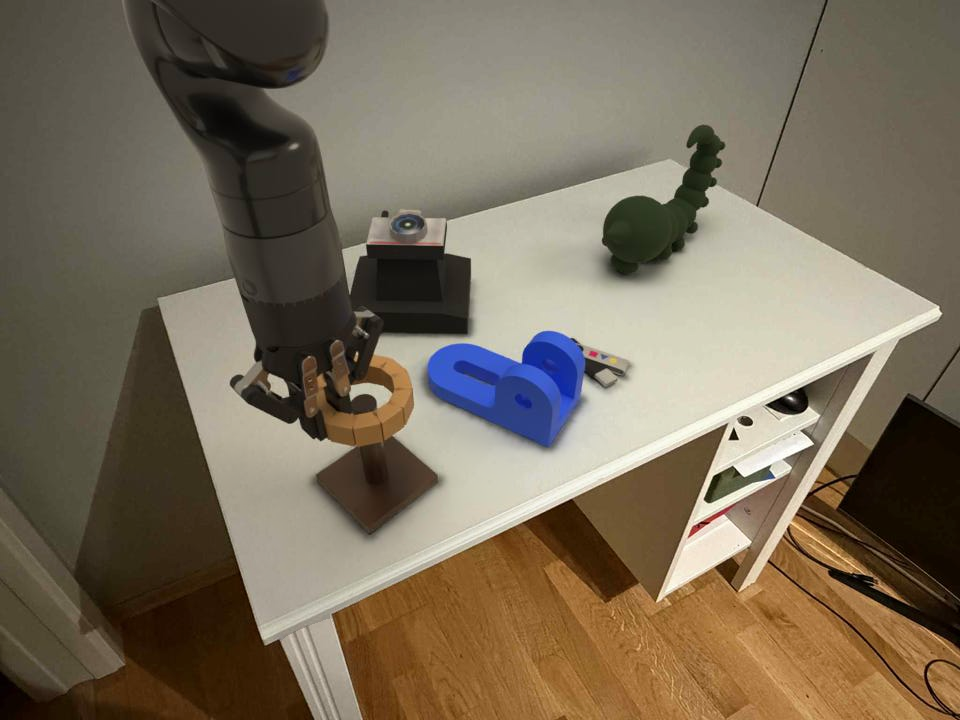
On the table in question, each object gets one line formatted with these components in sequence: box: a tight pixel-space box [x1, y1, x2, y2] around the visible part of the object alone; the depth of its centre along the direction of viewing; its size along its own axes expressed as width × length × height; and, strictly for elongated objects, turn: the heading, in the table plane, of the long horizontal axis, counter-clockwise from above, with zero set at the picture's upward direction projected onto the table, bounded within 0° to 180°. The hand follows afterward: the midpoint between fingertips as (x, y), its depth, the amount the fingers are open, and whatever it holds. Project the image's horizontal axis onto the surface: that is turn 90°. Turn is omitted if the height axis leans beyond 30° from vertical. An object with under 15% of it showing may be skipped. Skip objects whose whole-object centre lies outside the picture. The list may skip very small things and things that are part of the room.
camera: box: [349, 209, 472, 335], centre depth 84 cm, size 16×14×15 cm
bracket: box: [427, 330, 586, 448], centre depth 73 cm, size 18×8×9 cm, turn 59°
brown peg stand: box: [315, 393, 439, 535], centre depth 63 cm, size 9×9×12 cm
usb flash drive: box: [569, 337, 630, 388], centre depth 80 cm, size 9×5×1 cm, turn 33°
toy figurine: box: [601, 124, 726, 275], centre depth 92 cm, size 9×19×25 cm
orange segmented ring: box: [317, 353, 415, 448], centre depth 58 cm, size 9×9×2 cm
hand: (329, 426), depth 57 cm, fingers closed on orange segmented ring, 2 cm apart
